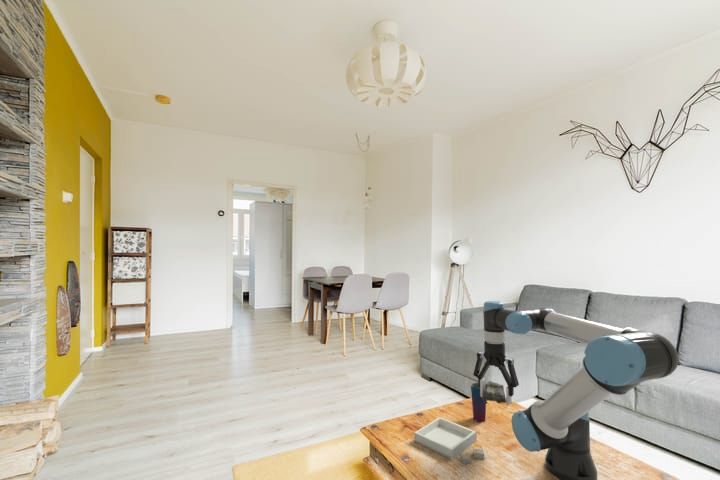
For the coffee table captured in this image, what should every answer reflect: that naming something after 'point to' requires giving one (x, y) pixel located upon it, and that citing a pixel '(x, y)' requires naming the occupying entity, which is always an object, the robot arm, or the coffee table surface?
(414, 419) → the coffee table surface
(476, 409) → the cup
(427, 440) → the bin
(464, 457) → the chip
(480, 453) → the grey small block
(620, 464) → the coffee table surface
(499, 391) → the rock
